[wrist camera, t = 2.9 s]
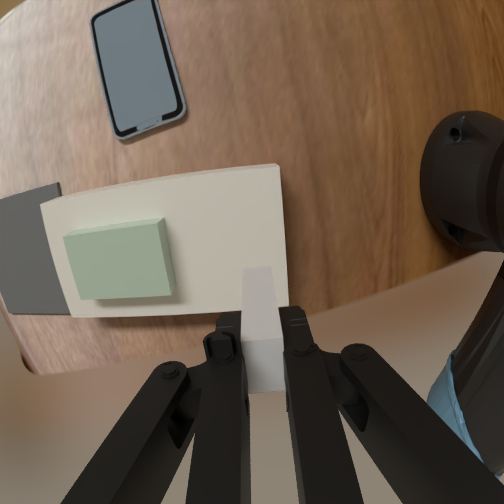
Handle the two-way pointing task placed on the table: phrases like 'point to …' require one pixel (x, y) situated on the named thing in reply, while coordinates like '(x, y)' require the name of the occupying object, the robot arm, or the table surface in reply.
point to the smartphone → (136, 67)
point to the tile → (121, 260)
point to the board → (184, 236)
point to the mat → (28, 255)
